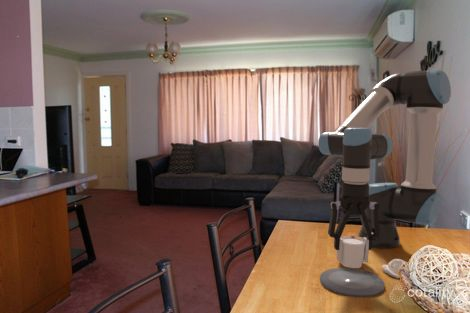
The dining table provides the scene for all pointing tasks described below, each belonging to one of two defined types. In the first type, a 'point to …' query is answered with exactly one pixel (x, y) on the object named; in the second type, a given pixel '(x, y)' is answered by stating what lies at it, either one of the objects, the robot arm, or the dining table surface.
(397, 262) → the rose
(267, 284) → the dining table surface
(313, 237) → the dining table surface
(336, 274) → the dish
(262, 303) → the dining table surface
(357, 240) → the white cup
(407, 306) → the dining table surface
